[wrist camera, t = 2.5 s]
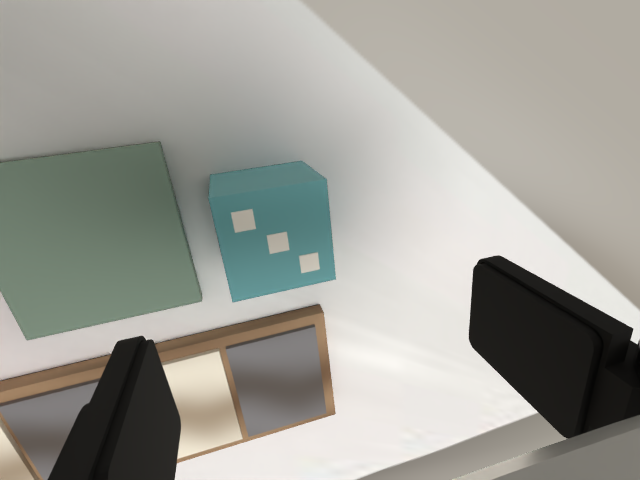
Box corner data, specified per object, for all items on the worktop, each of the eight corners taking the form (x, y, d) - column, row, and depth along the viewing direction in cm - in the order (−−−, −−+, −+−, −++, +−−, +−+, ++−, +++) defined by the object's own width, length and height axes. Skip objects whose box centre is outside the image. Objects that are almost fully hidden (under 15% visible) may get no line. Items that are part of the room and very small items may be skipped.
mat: (-54, 169, 16) (-64, 171, 15) (159, 141, 18) (158, 142, 17) (32, 333, 19) (26, 340, 19) (202, 296, 21) (201, 301, 21)
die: (210, 174, 19) (208, 198, 14) (301, 160, 20) (326, 179, 15) (229, 259, 21) (232, 303, 16) (311, 242, 22) (336, 280, 17)
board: (-143, 415, 18) (-167, 437, 17) (319, 304, 24) (324, 315, 22) (-53, 519, 22) (-69, 543, 21) (331, 403, 27) (336, 417, 26)
